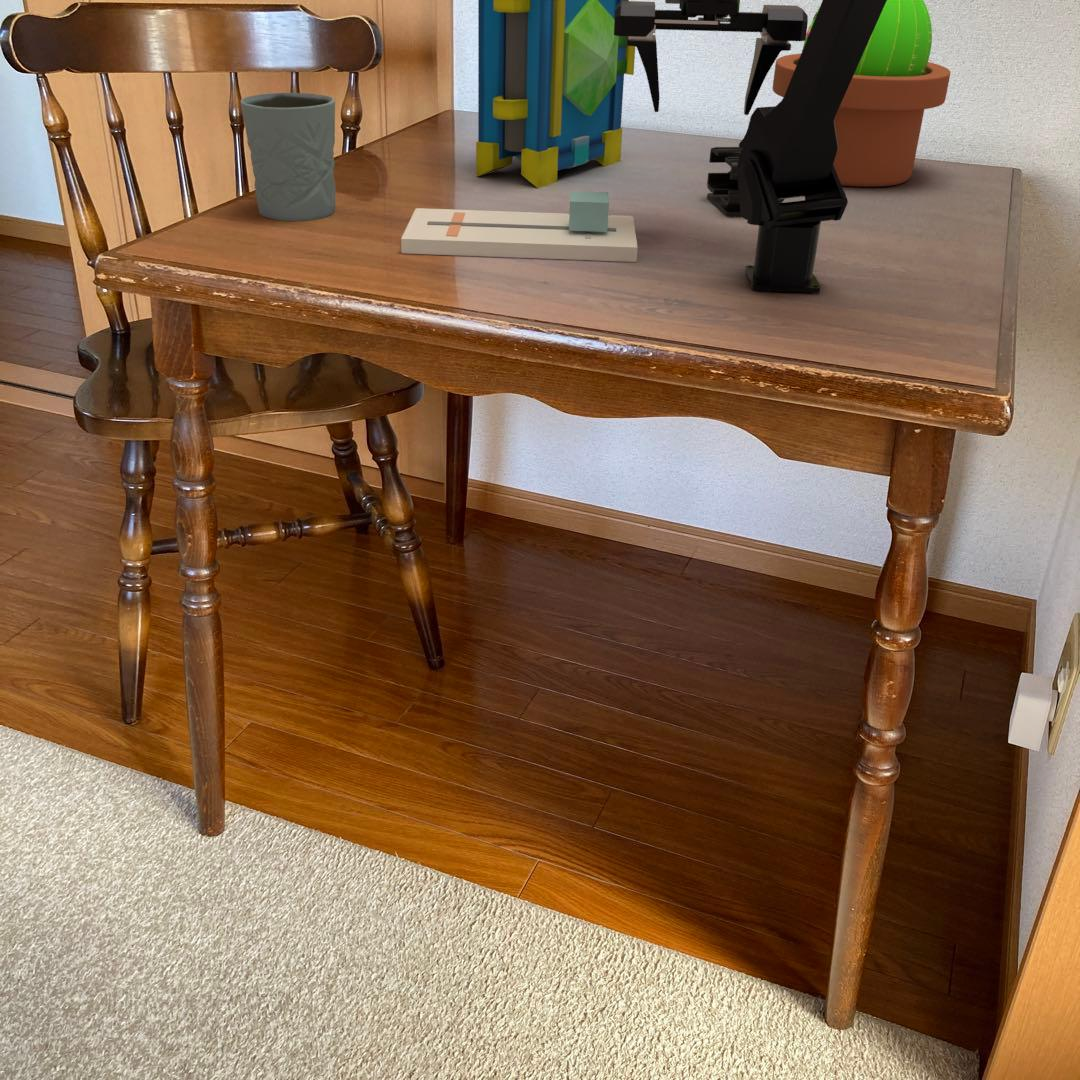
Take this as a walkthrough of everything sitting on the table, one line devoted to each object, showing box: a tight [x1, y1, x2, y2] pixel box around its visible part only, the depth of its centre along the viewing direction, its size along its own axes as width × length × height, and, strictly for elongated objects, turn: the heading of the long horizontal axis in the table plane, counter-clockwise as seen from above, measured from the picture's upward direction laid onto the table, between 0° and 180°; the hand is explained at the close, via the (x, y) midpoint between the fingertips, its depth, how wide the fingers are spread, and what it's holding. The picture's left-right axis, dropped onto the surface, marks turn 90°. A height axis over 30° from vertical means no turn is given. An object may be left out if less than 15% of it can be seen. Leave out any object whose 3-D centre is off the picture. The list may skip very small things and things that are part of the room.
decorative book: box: [475, 0, 636, 189], centre depth 142 cm, size 14×23×30 cm, turn 146°
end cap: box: [706, 146, 786, 218], centre depth 134 cm, size 10×7×7 cm
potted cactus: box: [771, 0, 951, 188], centre depth 146 cm, size 22×22×25 cm
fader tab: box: [569, 190, 610, 232], centre depth 119 cm, size 4×4×3 cm
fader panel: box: [400, 207, 639, 263], centre depth 120 cm, size 12×24×2 cm, turn 88°
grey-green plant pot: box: [240, 92, 336, 222], centre depth 125 cm, size 10×10×12 cm
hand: (701, 112), depth 116 cm, fingers open, 9 cm apart
